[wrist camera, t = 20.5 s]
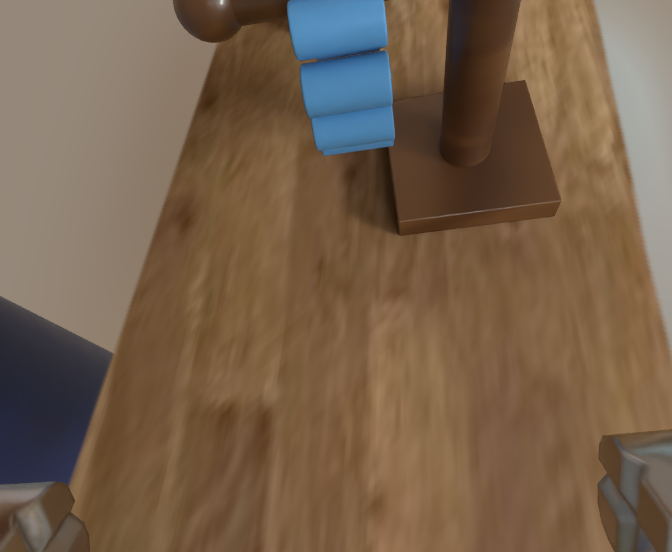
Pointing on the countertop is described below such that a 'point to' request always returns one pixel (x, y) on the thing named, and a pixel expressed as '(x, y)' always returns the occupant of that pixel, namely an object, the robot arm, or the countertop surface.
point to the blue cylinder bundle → (344, 72)
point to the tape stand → (444, 121)
